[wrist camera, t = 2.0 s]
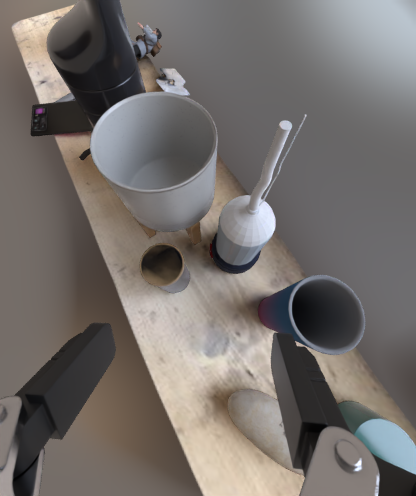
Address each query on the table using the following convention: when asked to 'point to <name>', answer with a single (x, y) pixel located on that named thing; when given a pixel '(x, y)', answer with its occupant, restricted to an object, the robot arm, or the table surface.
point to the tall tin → (165, 268)
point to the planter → (159, 159)
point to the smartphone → (58, 118)
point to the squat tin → (380, 435)
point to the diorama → (172, 82)
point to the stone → (261, 424)
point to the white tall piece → (249, 217)
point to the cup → (316, 314)
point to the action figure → (147, 42)
